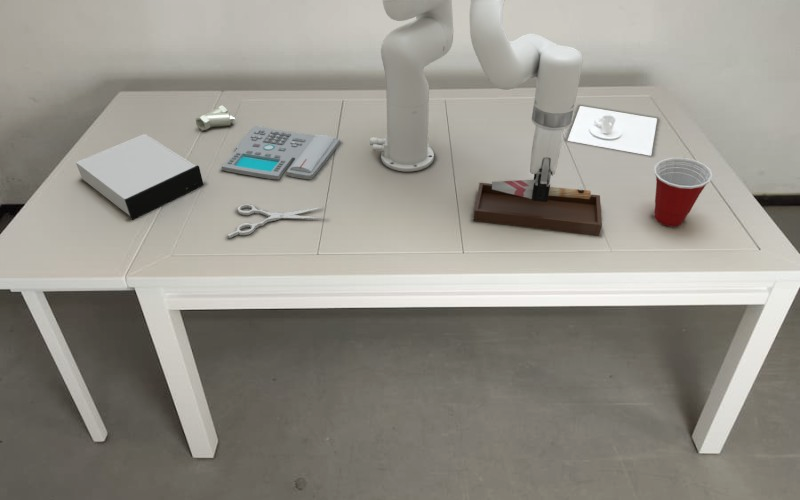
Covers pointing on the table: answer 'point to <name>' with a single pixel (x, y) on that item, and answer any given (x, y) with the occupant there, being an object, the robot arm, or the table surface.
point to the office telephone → (280, 153)
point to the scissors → (271, 217)
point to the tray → (539, 211)
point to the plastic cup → (678, 188)
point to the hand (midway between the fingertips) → (539, 193)
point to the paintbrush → (526, 189)
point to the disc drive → (140, 175)
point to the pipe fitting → (215, 118)
